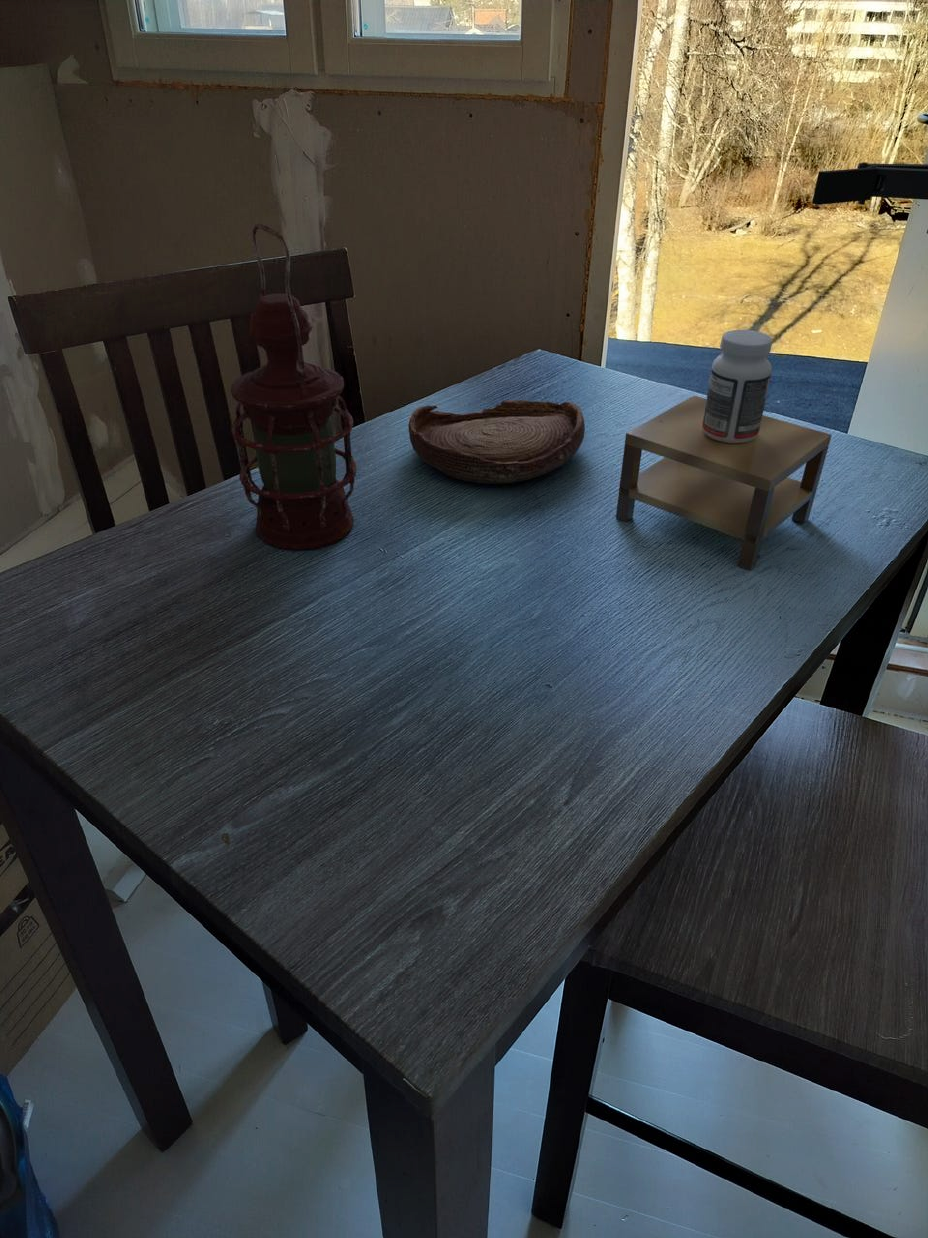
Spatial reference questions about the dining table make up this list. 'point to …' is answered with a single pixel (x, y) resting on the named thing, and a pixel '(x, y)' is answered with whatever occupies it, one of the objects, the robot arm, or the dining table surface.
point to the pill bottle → (738, 387)
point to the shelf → (723, 474)
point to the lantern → (292, 429)
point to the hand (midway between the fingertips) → (872, 201)
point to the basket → (498, 440)
